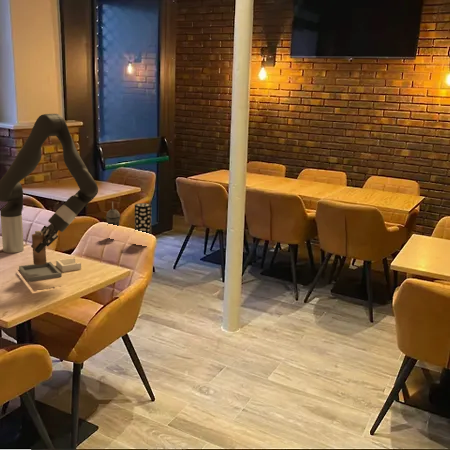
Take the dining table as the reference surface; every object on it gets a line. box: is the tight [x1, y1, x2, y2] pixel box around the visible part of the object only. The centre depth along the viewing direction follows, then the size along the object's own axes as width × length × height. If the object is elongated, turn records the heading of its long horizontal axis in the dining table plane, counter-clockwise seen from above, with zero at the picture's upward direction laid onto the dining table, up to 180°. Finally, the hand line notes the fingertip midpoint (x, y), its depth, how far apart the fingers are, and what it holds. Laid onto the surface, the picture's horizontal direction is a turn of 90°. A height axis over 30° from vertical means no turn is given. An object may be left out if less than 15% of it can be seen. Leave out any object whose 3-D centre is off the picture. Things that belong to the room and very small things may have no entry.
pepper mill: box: [31, 230, 47, 265], centre depth 210 cm, size 5×5×13 cm
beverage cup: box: [105, 200, 121, 227], centre depth 269 cm, size 7×7×20 cm
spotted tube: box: [134, 202, 152, 235], centre depth 262 cm, size 8×8×20 cm
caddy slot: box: [55, 257, 82, 273], centre depth 221 cm, size 9×8×4 cm
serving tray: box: [18, 261, 63, 283], centre depth 213 cm, size 16×13×2 cm
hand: (34, 249), depth 209 cm, fingers closed on pepper mill, 5 cm apart
